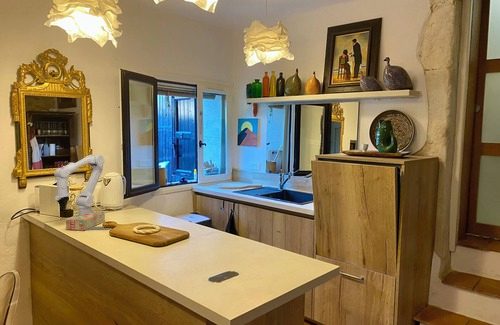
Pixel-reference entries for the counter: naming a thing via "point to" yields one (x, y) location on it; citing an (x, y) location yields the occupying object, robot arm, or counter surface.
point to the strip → (96, 228)
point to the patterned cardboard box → (85, 221)
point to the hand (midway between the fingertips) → (63, 209)
